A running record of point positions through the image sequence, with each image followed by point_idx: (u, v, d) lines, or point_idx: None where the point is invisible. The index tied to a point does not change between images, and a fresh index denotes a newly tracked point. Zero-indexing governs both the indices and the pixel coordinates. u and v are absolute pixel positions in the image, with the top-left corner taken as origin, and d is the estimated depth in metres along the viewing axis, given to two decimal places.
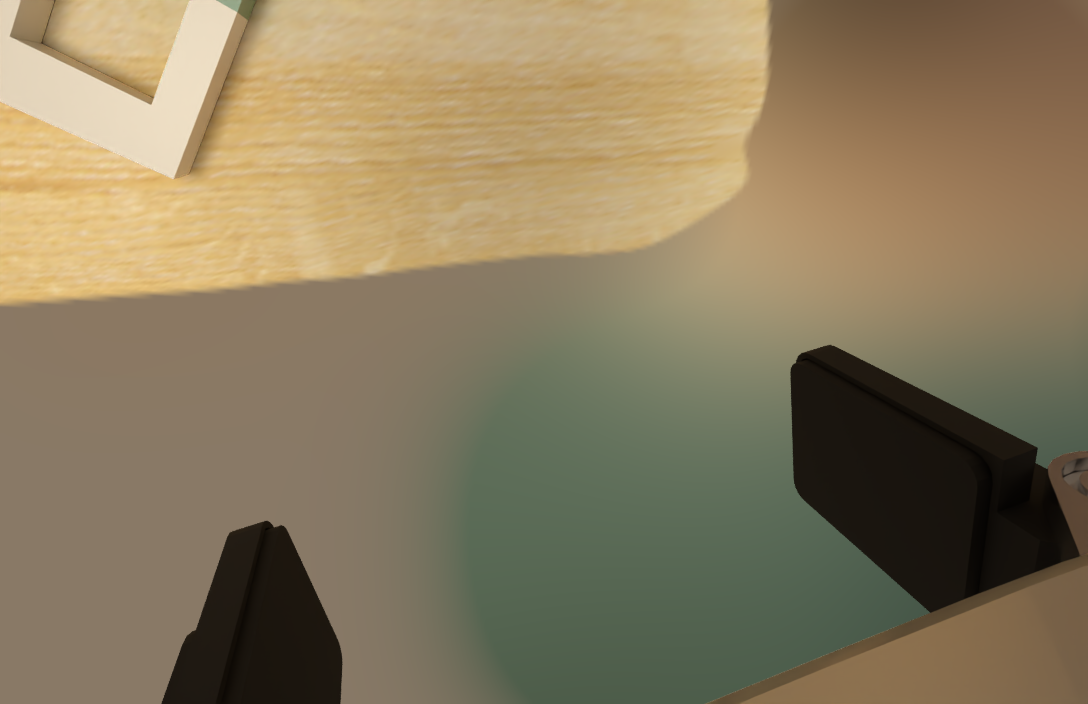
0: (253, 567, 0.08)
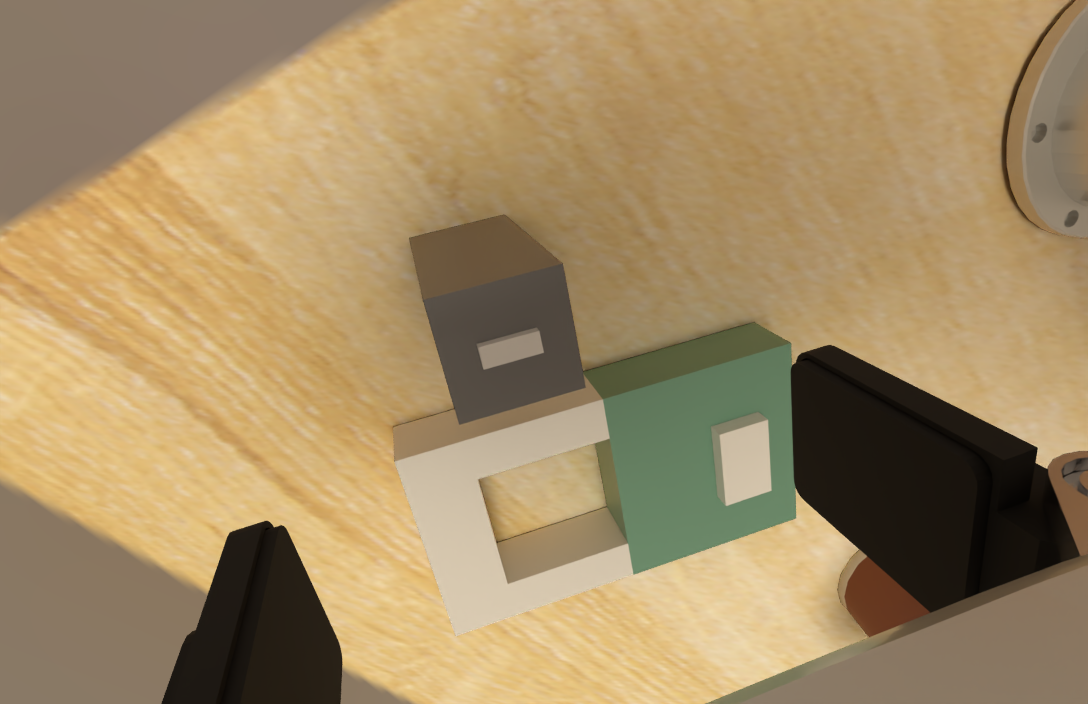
0: (253, 567, 0.08)
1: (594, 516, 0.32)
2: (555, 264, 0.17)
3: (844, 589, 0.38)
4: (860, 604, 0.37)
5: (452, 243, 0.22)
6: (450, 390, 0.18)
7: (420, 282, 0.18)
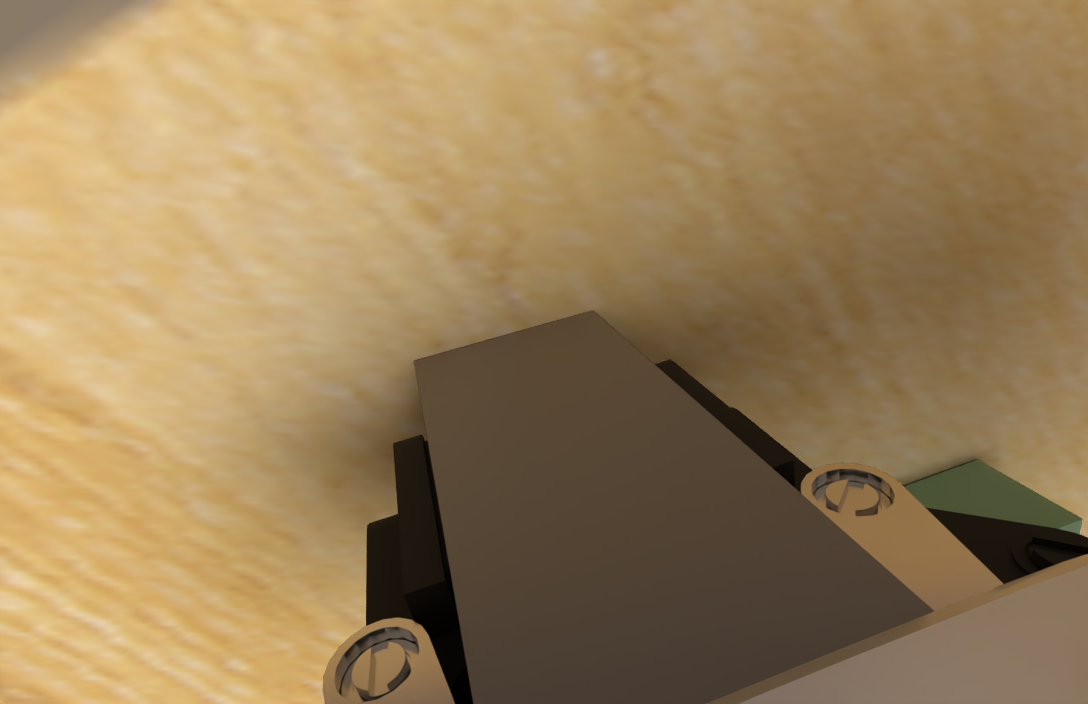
0: (426, 465, 0.10)
1: None
2: (908, 611, 0.05)
3: None
4: None
5: (510, 400, 0.10)
6: None
7: (461, 612, 0.06)
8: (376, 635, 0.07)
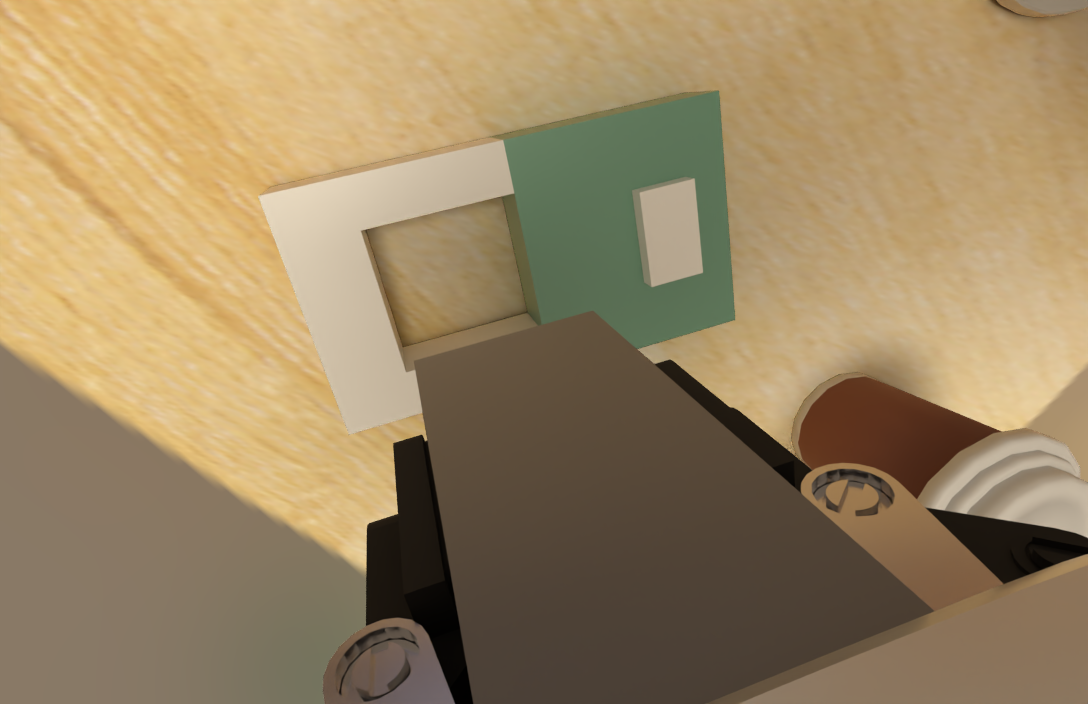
0: (426, 465, 0.10)
1: (512, 319, 0.28)
2: (907, 611, 0.05)
3: (798, 434, 0.35)
4: (813, 444, 0.34)
5: (510, 400, 0.10)
6: None
7: (461, 612, 0.06)
8: (376, 635, 0.07)
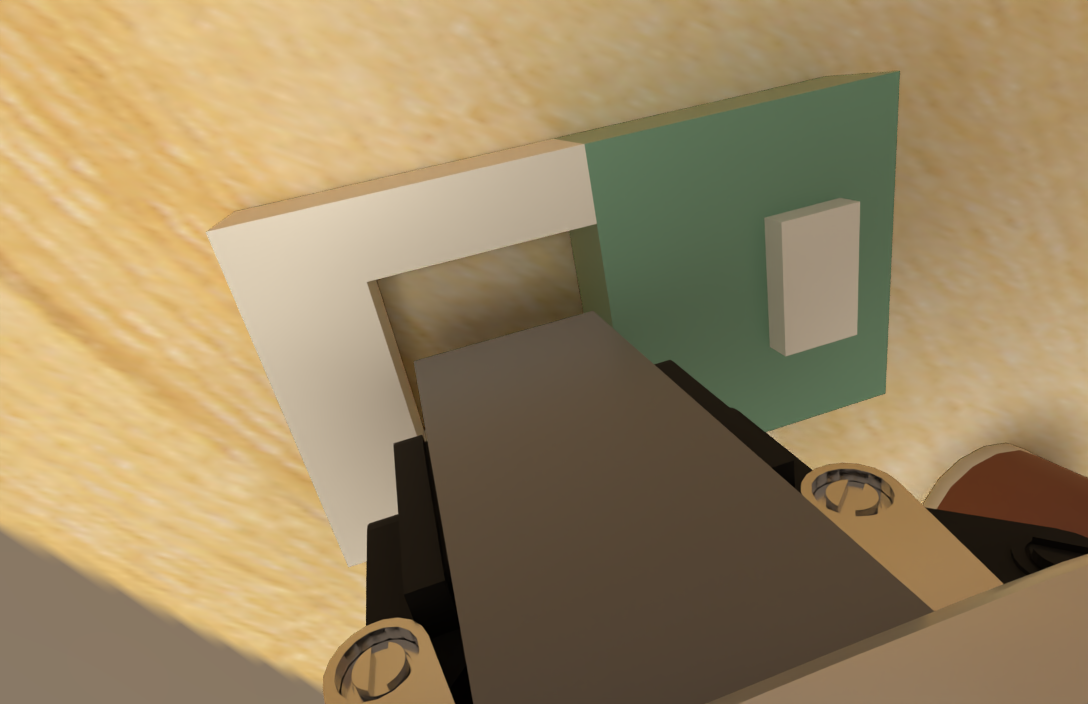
0: (426, 465, 0.10)
1: None
2: (908, 612, 0.05)
3: None
4: None
5: (510, 401, 0.10)
6: None
7: (461, 613, 0.06)
8: (376, 635, 0.07)
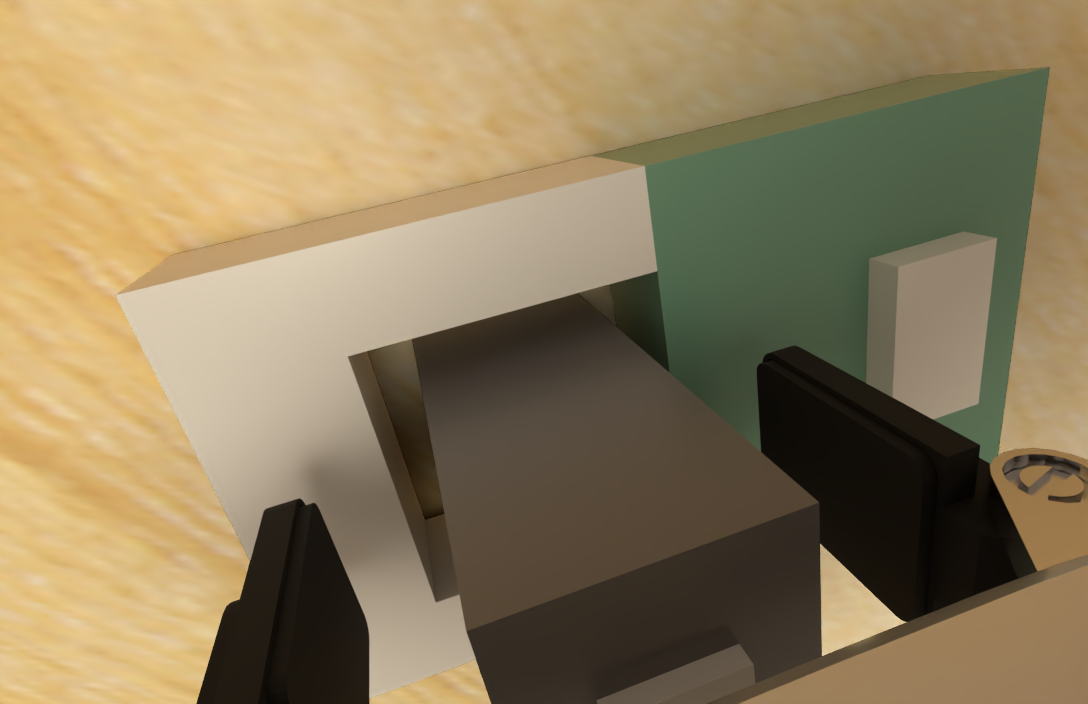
0: (290, 540, 0.09)
1: None
2: (798, 503, 0.07)
3: None
4: None
5: (496, 364, 0.12)
6: None
7: (448, 518, 0.08)
8: None
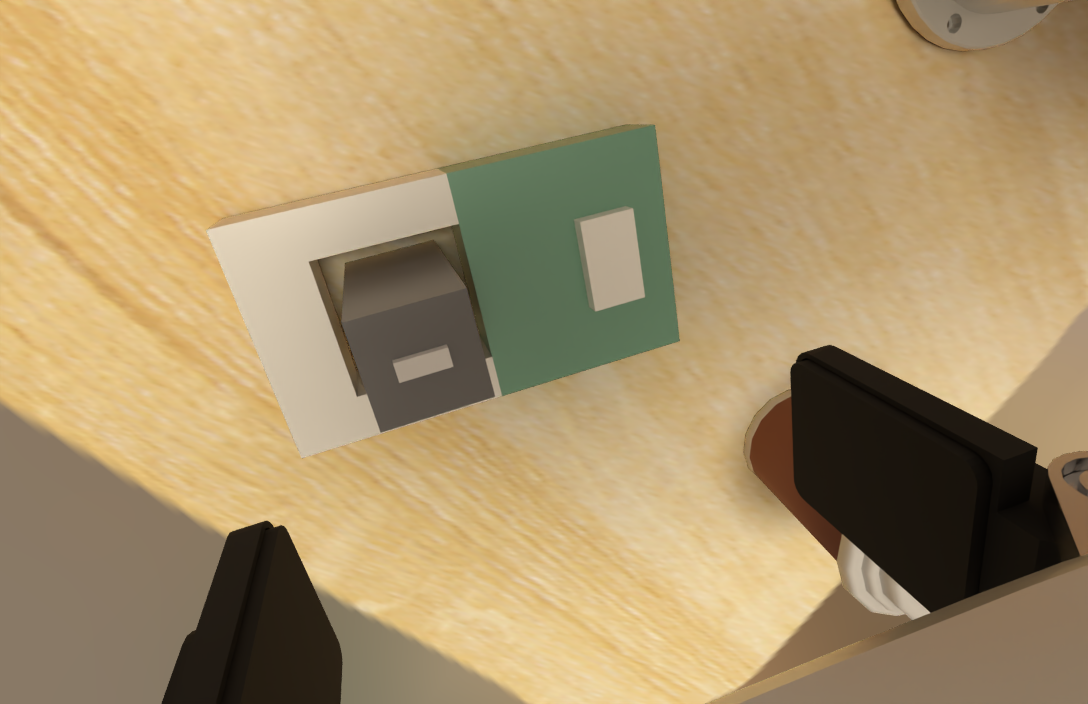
0: (253, 567, 0.08)
1: None
2: (460, 288, 0.20)
3: (749, 449, 0.36)
4: (763, 458, 0.35)
5: (381, 268, 0.24)
6: (370, 402, 0.20)
7: (343, 306, 0.20)
8: None
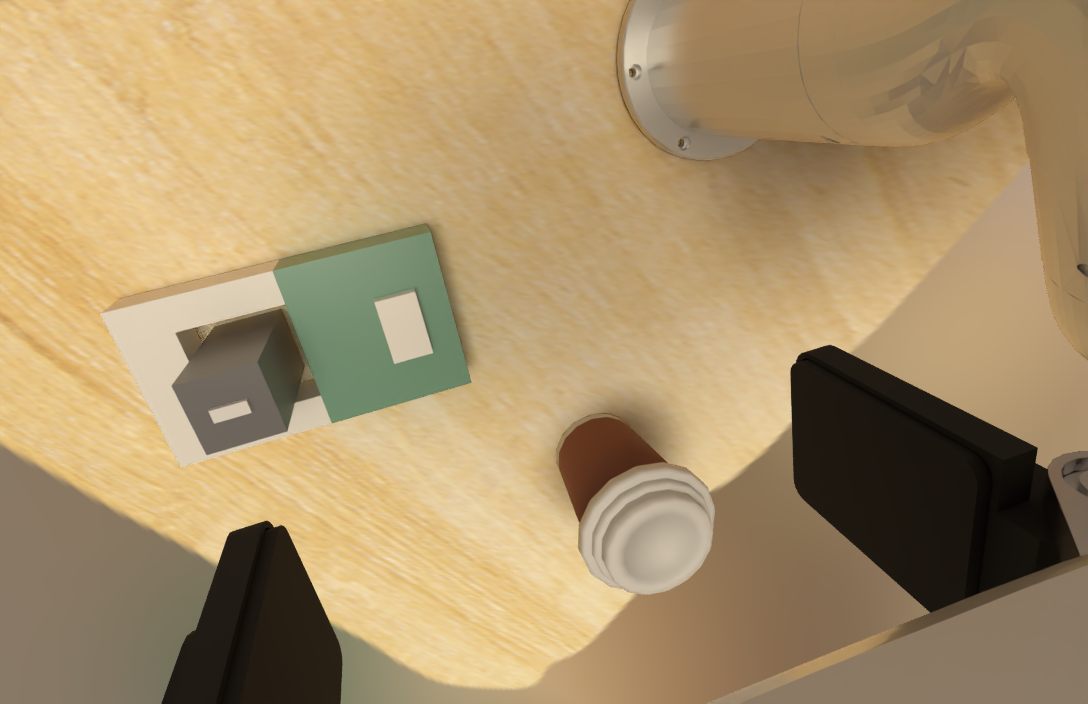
0: (253, 567, 0.08)
1: (310, 382, 0.39)
2: (253, 362, 0.30)
3: (558, 460, 0.46)
4: (562, 468, 0.45)
5: (229, 335, 0.35)
6: (197, 435, 0.30)
7: (183, 371, 0.31)
8: None
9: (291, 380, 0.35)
